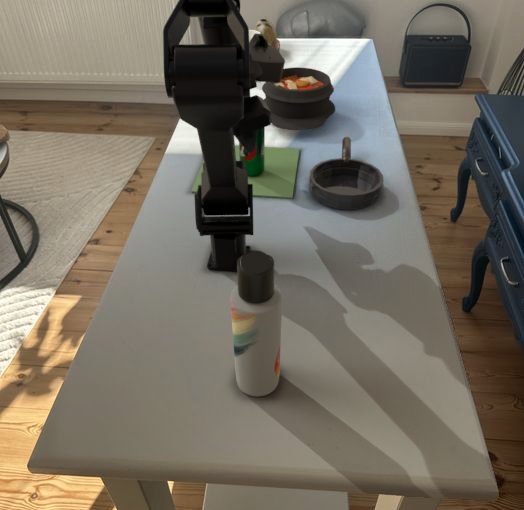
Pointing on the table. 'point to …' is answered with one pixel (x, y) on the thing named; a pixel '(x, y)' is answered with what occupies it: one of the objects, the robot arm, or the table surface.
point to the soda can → (254, 155)
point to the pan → (345, 183)
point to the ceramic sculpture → (268, 32)
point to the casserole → (300, 99)
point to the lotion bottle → (256, 324)
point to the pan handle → (346, 150)
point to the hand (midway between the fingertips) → (241, 135)
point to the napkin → (271, 173)
